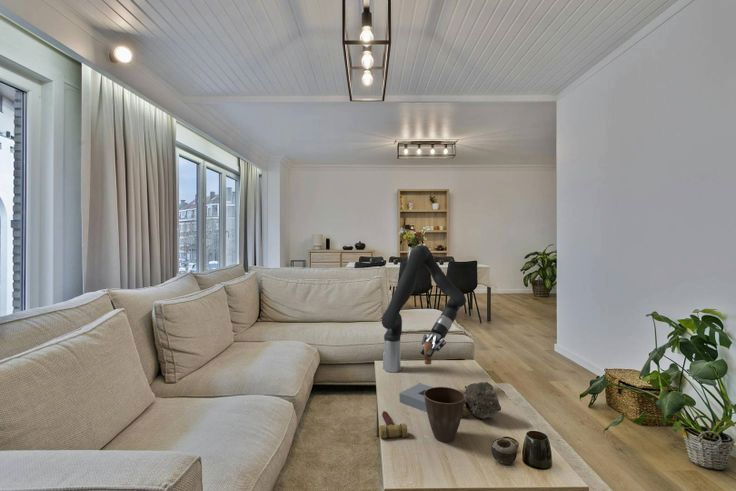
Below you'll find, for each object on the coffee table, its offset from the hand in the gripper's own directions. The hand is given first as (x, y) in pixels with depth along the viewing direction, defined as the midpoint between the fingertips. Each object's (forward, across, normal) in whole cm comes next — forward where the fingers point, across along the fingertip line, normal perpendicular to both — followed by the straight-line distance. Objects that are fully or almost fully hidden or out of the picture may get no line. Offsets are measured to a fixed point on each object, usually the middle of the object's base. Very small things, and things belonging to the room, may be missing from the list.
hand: (425, 354), depth 177 cm
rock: (+14, +29, +12) cm, 34 cm away
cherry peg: (+2, 0, +5) cm, 5 cm away
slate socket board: (+18, +8, +7) cm, 21 cm away
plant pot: (+29, +33, -3) cm, 45 cm away
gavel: (+38, +14, -11) cm, 42 cm away
